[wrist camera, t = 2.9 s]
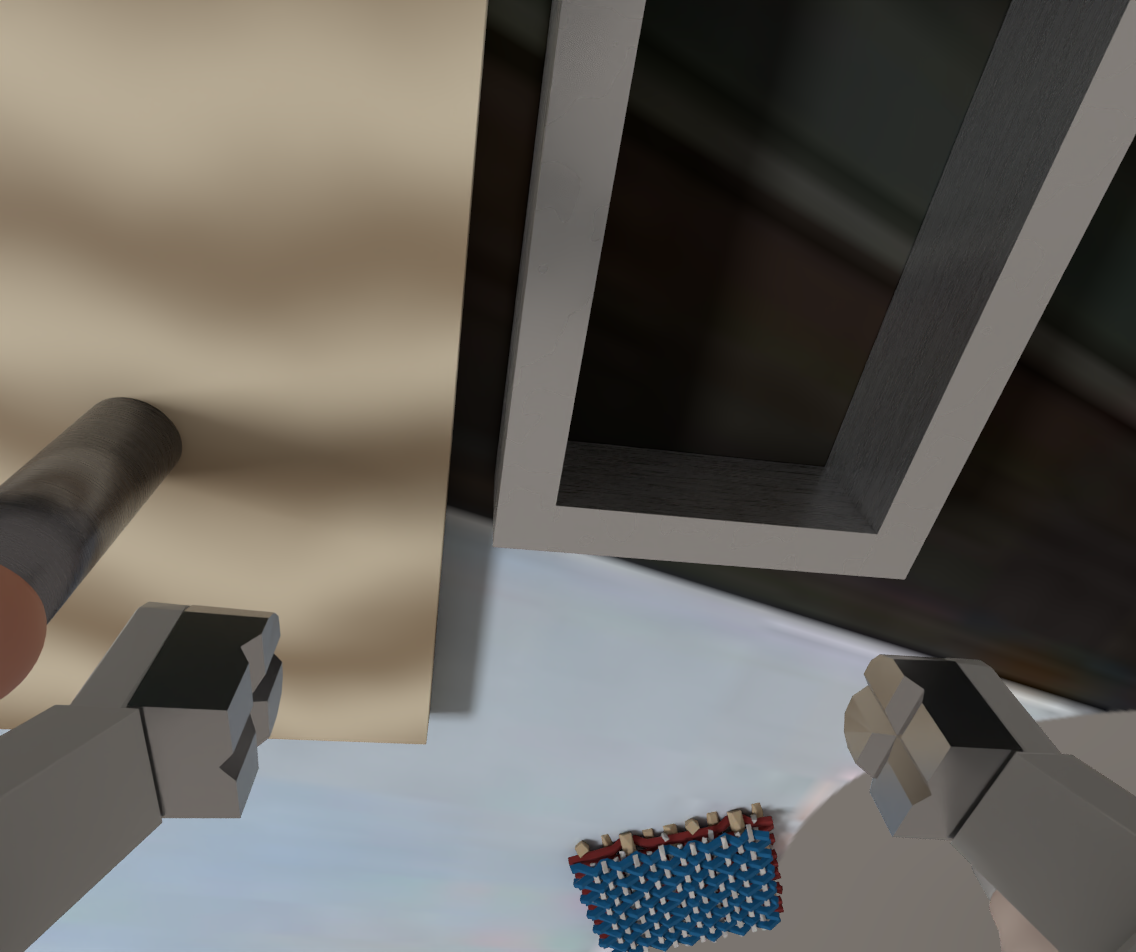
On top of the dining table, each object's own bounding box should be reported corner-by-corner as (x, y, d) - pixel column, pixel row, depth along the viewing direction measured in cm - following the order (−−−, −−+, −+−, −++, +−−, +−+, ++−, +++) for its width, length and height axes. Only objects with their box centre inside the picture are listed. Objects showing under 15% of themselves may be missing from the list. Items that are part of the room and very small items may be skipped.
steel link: (584, -268, 14) (609, -370, 11) (1129, -128, 16) (1296, -176, 13) (494, 475, 23) (492, 546, 20) (850, 508, 25) (904, 579, 22)
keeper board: (-439, -235, 13) (-2720, -940, 4) (491, -45, 16) (473, -188, 7) (-48, 693, 26) (-355, 1048, 17) (429, 713, 29) (392, 1030, 20)
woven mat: (780, 894, 40) (792, 932, 38) (602, 930, 41) (606, 969, 39) (767, 789, 35) (781, 828, 33) (562, 832, 35) (565, 872, 33)
